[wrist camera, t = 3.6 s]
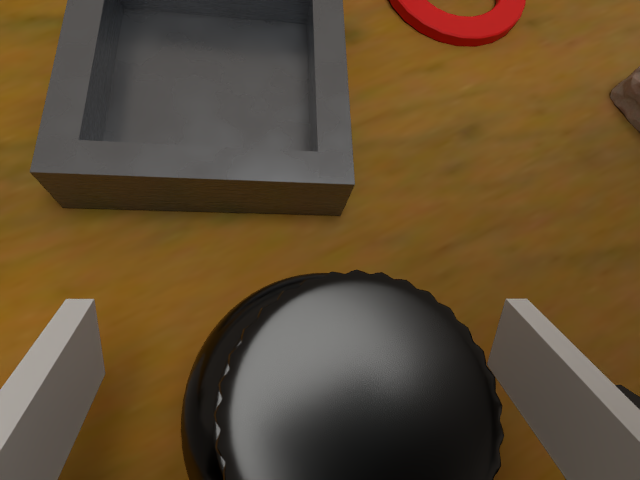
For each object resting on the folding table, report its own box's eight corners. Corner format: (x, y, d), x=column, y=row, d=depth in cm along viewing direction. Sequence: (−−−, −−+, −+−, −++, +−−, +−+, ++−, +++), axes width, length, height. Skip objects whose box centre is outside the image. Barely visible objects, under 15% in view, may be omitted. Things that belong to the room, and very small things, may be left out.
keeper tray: (330, 17, 26) (340, -33, 23) (340, 215, 22) (354, 184, 19) (101, -4, 24) (80, -61, 21) (62, 207, 20) (29, 171, 17)
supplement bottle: (391, 491, 18) (624, 622, 7) (214, 522, 17) (141, 745, 5) (364, 319, 20) (503, 205, 9) (206, 335, 19) (144, 227, 8)
